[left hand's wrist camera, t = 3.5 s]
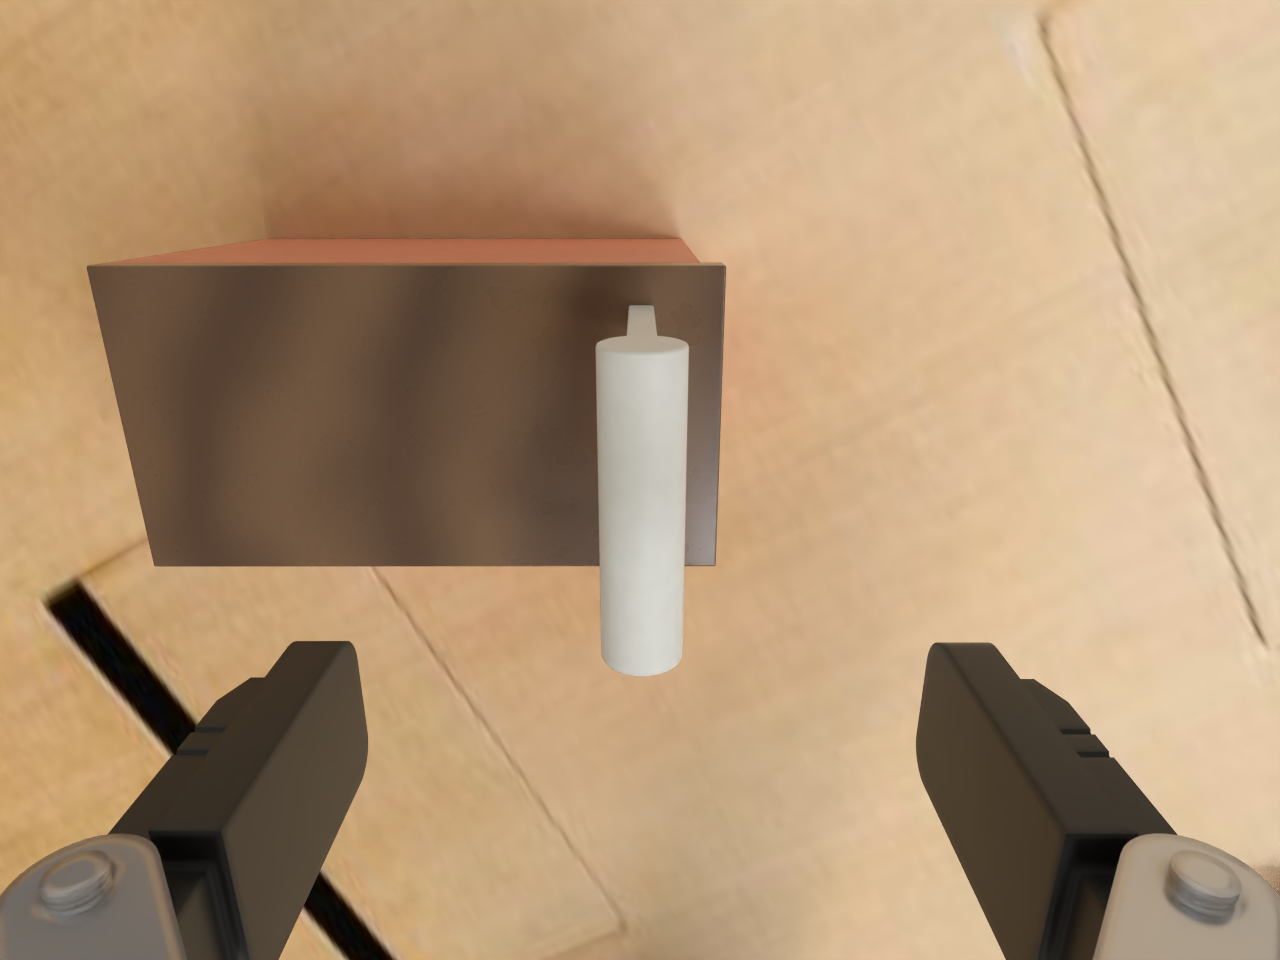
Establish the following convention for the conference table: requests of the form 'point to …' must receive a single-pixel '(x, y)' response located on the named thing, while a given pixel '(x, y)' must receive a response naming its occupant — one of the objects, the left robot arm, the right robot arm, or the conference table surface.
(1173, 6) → the conference table surface
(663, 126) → the conference table surface
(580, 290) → the lid
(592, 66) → the conference table surface
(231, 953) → the left robot arm
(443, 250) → the chest
